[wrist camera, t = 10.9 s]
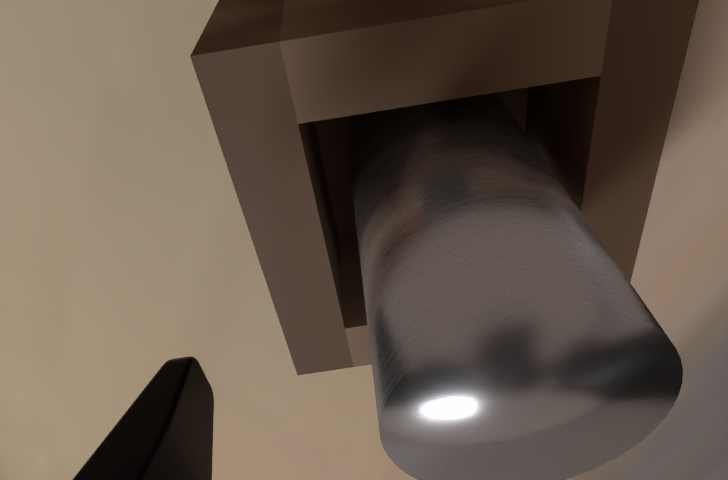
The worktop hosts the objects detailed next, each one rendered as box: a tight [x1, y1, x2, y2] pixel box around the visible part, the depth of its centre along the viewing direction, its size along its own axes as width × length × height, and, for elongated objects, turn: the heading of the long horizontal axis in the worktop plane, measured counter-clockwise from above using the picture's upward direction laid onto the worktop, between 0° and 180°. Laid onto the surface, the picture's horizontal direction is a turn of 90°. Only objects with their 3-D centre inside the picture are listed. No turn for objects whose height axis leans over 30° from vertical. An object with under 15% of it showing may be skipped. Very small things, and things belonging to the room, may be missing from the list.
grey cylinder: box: [347, 92, 683, 480], centre depth 10 cm, size 4×4×8 cm
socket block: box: [190, 0, 699, 375], centre depth 12 cm, size 8×8×4 cm
